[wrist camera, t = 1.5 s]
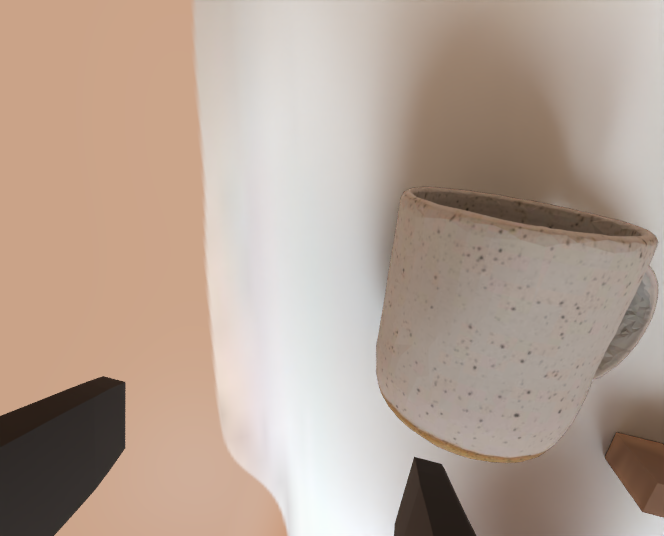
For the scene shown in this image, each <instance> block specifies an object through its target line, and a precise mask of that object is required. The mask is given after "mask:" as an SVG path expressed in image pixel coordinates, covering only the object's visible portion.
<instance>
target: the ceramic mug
mask: <svg viewBox="0 0 664 536" xmlns="http://www.w3.org/2000/svg"><path fill="white" fill-rule="evenodd" d="M657 244H658V240H657V238H656V236H655V235H654V234H652V233H651V232H650V231H649V230H647V229H644V228H641V227H639V226H636V225H633V224H630V223H627V222H623V221H620V220H616V219H611V218H607V217H603V216H599V215H595V214H592V213H587V212H582V211H578V210H574V209H570V208H566V207H559V206H555V205H551V204H546V203H541V202H536V201H532V200H522V199H516V198H511V197H507V196H502V195H496V194H488V193H481V192H474V191H464V190H460V189H447V188H438V187H419V188H416V187H414V188H411V189H409V190H406V191H404V193H403V195H402V196H401V200H400V205H399V210H398V218H397V226H396V231H395V237H394V243H393V248H392V254H391V260H390V266H389V272H388V278H387V286H386V293H385V299H384V305H383V311H382V317H381V322H380V328H379V334H378V339H377V345H376V361H377V365H376V374H377V379H378V384H379V388H380V391H381V393H382V395H383V397H384V399H385V401H386V402H387V404H388V406H389V407H390V408H391V410H392V411H393V412H394V413H395V415H396V416H397V417H398V418H399V419H400V420H401V421H402V422H403V423H404V424H405V425H407V426H408V427H409V428H410V429H411V430H413V431H414V432H416V433H417V434H419V435H420V436H422V437H423V438H425V439H426V440H428V441H429V442H431V443H432V444H434V445H436V446H437V447H440V448H442V449H445V450H447V451H450V452H452V453H455V454H458V455H461V456H464V457H467V458H470V459H476V460H483V461H489V462H502V463H517V462H523V461H526V460H529V459H533V458H536V457H539V456H540V455H542V454H543V453H544V452H546V451H547V450H548V449H550V448H551V447H552V446H553V445H554V444H555V443H556V442H557V441H558V440H559V439H560V438H561V437H562V436H563V435H564V433H565V432H566V431H567V429H568V428H569V427H570V425H571V424H572V423H573V421H574V419H575V417H576V415H577V413H578V411H579V410H580V408H581V406H582V404H583V402H584V400H585V398H586V396H587V393H588V391H589V388H590V385H591V383H592V380H594V379H597V378H600V377H602V376H603V375H605V374H606V373H607V372H609V371H610V370H612V369H613V368H614V367H616V366H617V365H618V364H619V363H620V362H621V361H622V360H623V359H624V358H625V357H627V355H628V354H629V353H630V352H631V351H632V350H633V348H634V347H635V346H636V345H637V344H638V342H639V340H640V338H641V337H642V335H643V334H644V332H645V330H646V329H647V327H648V325H649V323H650V321H651V319H652V316H653V314H654V311H655V307H656V303H657V298H658V282H657V279H656V276H655V273H654V271H653V270H652V269H651V267H650V266H649V264H650V262H651V260H652V257H653V255H654V252H655V249H656V247H657Z"/></svg>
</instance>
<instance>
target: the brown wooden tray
mask: <svg viewBox="0 0 664 536" xmlns="http://www.w3.org/2000/svg"><path fill="white" fill-rule="evenodd" d="M605 459H606V461H607V462H608V463H609V465H610V466H611V468H612V469H613V471H614V472H615V473H616V475H617V476H618V478H619V479H620V481H621V482H622V483H623V485H624V486H625V488H626V489H627V491H628V492H629V493H630V495H631V496H632V498H633V499H634V501H635V502H636V503H637V505H638V506H639V508H640V509H641V511H642V512H645V513H649V514H653V515H656V516H660V517H664V444H663V443H658V442H654V441H650V440H646V439H642V438H638V437H634V436H630V435H626V434H621V433H617V432H616V434H615V436H614V439H613V441H612V443H611V445H610V447H609V449H608V451H607V454H606V456H605Z"/></svg>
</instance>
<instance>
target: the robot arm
mask: <svg viewBox="0 0 664 536" xmlns="http://www.w3.org/2000/svg"><path fill="white" fill-rule="evenodd" d="M124 449H125V382H123V381H119V380H115V379H111V378H108V377H104V376H103V377H100V378H97V379H94V380H91V381H88V382H86V383H83V384H80V385H78V386H75V387H72V388H70V389H67V390H65V391H62V392H60V393H57V394H55V395H52V396H50V397H47V398H45V399H42V400H40V401H37V402H35V403H32V404H30V405H27V406H25V407H22V408H20V409H17V410H15V411H12V412H9V413H7V414H4V415H2V416H0V536H54V535H55V534H56V533H57V532H58V531H59V530H60V528H61V527H62V526H63V525H64V524H65V523H66V522H67V521H68V520H69V518H70V517H71V516H72V515H73V514H74V513H75V512H76V511H77V510H78V508H79V507H80V506H81V505H82V504H83V503H84V502H85V501H86V499H87V498H88V497H89V496H90V495H91V494H92V493H93V491H94V490H95V489H96V488H97V487H98V485H99V484H100V483H101V481H102V480H103V478H104V477H105V476H106V475H107V473H108V472H109V470H110V469H111V467H112V466H113V465H114V463H115V462H116V461H117V459H118V458H119V456H120V455H121V453H122V452H123V450H124ZM394 536H476V534H475V532H474V530H473V528H472V526H471V524H470V522H469V520H468V518H467V516H466V514H465V512H464V510H463V508H462V506H461V504H460V501H459V499H458V497H457V495H456V493H455V491H454V489H453V486H452V484H451V482H450V480H449V478H448V476H447V473H446V471H445V469H444V467H443V466H442V464H439V463H436V462H432V461H428V460H424V459H420V458H416V457H414V460H413V464H412V467H411V470H410V474H409V477H408V481H407V484H406V487H405V491H404V494H403V498H402V501H401V505H400V508H399V511H398V515H397V518H396V522H395V531H394Z"/></svg>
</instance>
